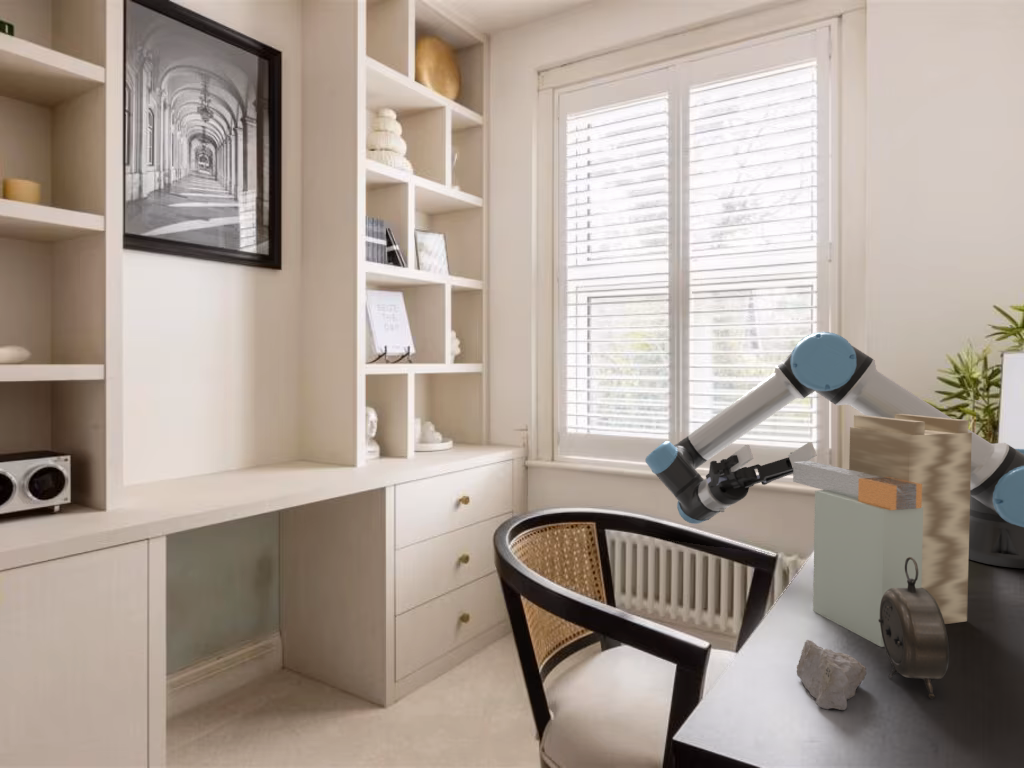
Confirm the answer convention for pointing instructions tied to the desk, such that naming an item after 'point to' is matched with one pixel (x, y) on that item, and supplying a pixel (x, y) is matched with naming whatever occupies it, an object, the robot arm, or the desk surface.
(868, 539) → the pale green block
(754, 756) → the desk surface
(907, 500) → the grey long bar
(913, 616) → the alarm clock
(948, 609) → the stand
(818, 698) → the stone
